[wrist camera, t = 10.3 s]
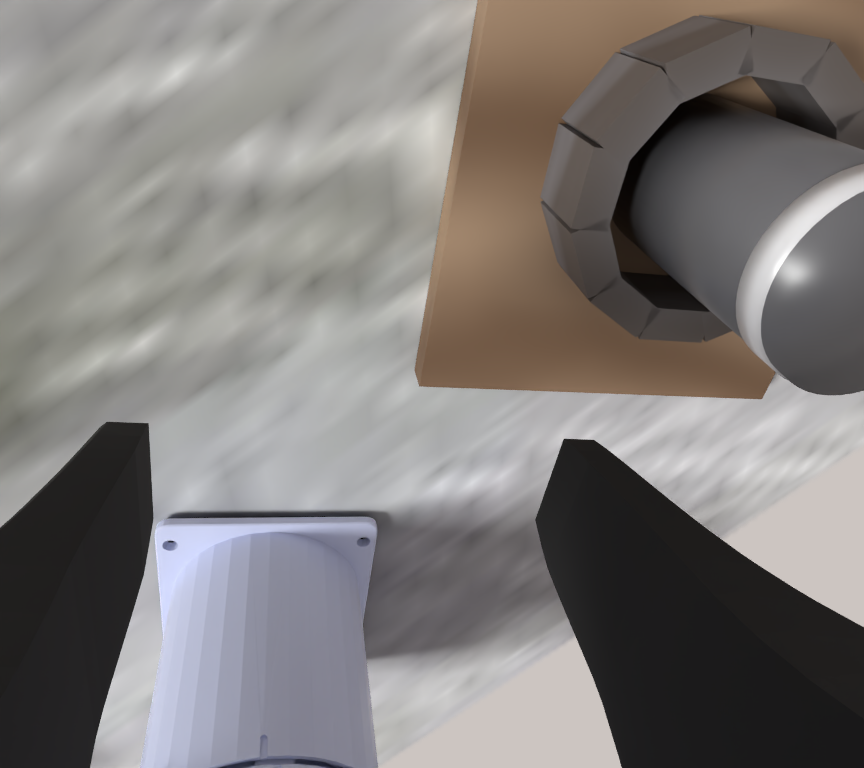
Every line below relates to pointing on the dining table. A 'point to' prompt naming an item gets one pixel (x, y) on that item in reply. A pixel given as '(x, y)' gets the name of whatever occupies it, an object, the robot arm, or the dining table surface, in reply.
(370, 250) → the dining table surface
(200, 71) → the dining table surface
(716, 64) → the mount
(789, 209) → the lens
